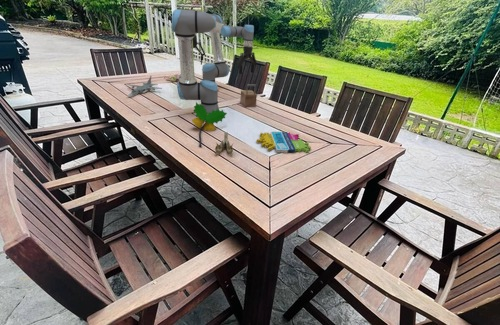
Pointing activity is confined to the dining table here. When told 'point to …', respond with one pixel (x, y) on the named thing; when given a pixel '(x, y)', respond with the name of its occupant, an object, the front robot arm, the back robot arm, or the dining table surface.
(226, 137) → the jawbone
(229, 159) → the dining table surface
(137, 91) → the airplane
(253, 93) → the brown piece
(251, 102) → the chest
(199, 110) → the ornament
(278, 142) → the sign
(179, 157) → the dining table surface
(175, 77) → the toy
